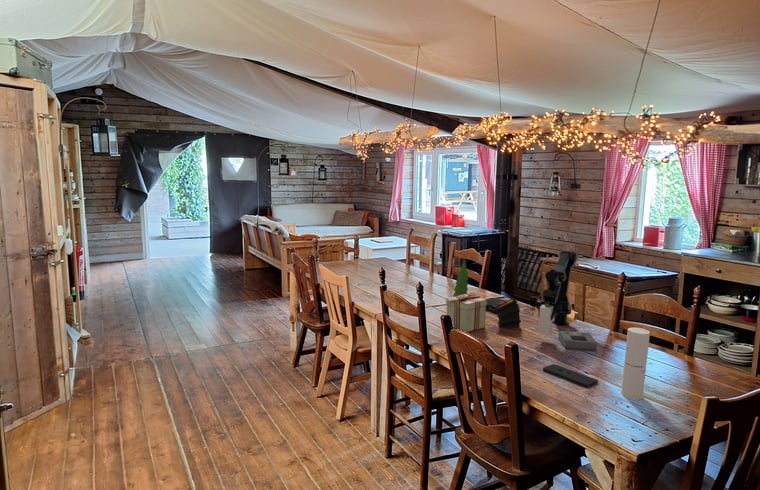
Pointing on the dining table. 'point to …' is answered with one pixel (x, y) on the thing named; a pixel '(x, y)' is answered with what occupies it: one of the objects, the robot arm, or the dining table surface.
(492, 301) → the portable cd player
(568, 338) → the block
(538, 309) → the robot arm
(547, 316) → the white upright cylinder
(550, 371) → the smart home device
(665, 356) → the dining table surface
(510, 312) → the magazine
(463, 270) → the decorative tree
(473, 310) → the gift box
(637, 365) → the cylindrical container
